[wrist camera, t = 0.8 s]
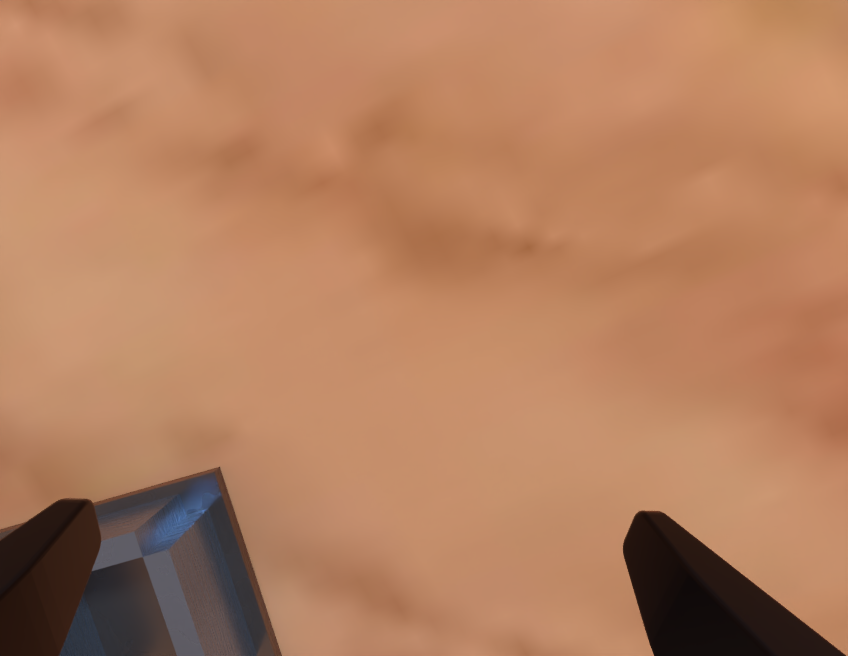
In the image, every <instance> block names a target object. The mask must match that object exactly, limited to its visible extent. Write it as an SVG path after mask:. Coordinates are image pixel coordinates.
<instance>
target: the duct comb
mask: <svg viewBox="0 0 848 656" xmlns="http://www.w3.org/2000/svg"><path fill="white" fill-rule="evenodd" d="M93 504H94V507H95V511H96V515H97V519H98V524H99V528H100V532H101V546H100V550H99V553H98V556H97V558H96V561H95V564H94V566H93V569H92V571H91V574H90V577H89V579H88V582H87V585H86V587H85V590H84V593H83V595H82V598H81V601H80V603H79V606H78V608H77V611H76V614H75V616H74V619H73V622H72V624H71V627H70V630H69V632H68V635H67V637H66V640H65V642H64V645H63V647H62V650H61V652H60V655H59V656H282V655H281V652H280V649H279V646H278V643H277V640H276V637H275V634H274V631H273V628H272V625H271V622H270V619H269V616H268V613H267V610H266V606H265V603H264V600H263V597H262V594H261V591H260V588H259V585H258V582H257V579H256V576H255V573H254V570H253V567H252V564H251V561H250V558H249V555H248V552H247V549H246V546H245V543H244V540H243V537H242V534H241V530H240V527H239V524H238V521H237V518H236V515H235V512H234V509H233V506H232V503H231V500H230V497H229V494H228V491H227V488H226V485H225V482H224V479H223V476H222V473H221V470H220V467H218V468H214V469H211V470H207V471H204V472H200V473H197V474H193V475H190V476H186V477H183V478H179V479H176V480H172V481H169V482H165V483H162V484H158V485H155V486H151V487H148V488H144V489H141V490H137V491H134V492H130V493H127V494H123V495H120V496H116V497H113V498H109V499H106V500H102V501H99V502H95V503H93ZM22 524H24V523H22ZM22 524H18V525H15V526H11V527H8V528H4V529H1V530H0V539H2V538H3V537H5V536H6V535H8V534H9V533H11V532H12V531H14V530H15V529H17V528H18V527H20V526H21V525H22Z"/></svg>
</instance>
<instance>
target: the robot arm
mask: <svg viewBox="0 0 848 656" xmlns="http://www.w3.org/2000/svg"><path fill="white" fill-rule="evenodd" d="M100 546H101V532H100V528H99V524H98V519H97V515H96V511H95V507H94V504H93V502H92V501H91V500H89V499H74V498H65V499H61V500H58V501H56V502H55V503H53V504H52V505H50V506H49V507H47V508H46V509H44V510H43V511H41V512H40V513H39V514H37V515H36V516H34V517H33V518H31V519H30V520H28V521H27V522H25V523H24V524H22V525H21V526H20V527H18V528H17V529H15V530H14V531H12V532H11V533H9V534H8V535H6V536H5V537H3V538H2V539H0V656H59V655H60V652H61V650H62V647H63V645H64V642H65V640H66V637H67V635H68V632H69V630H70V627H71V624H72V622H73V619H74V616H75V614H76V611H77V608H78V606H79V603H80V601H81V598H82V595H83V593H84V590H85V587H86V585H87V582H88V579H89V577H90V574H91V571H92V569H93V566H94V564H95V561H96V558H97V556H98V553H99V550H100ZM623 554H624V559H625V562H626V565H627V569H628V572H629V576H630V579H631V583H632V586H633V589H634V593H635V596H636V600H637V603H638V606H639V610H640V613H641V617H642V620H643V624H644V627H645V630H646V633H647V637H648V640H649V643H650V646H651V648H652V651H653V654H654V656H846V655H845V654H843V653H842V652H841V651H840V650H838V649H837V648H836V647H834V646H833V645H832V644H831V643H829V642H828V641H827V640H825V639H824V638H823V637H822V636H820V635H819V634H818V633H817V632H815V631H814V630H813V629H811V628H810V627H809V626H808V625H806V624H805V623H804V622H803V621H801V620H800V619H799V618H797V617H796V616H795V615H794V614H792V613H791V612H790V611H788V610H787V609H786V608H785V607H783V606H782V605H781V604H780V603H778V602H777V601H776V600H774V599H773V598H772V597H771V596H769V595H768V594H767V593H766V592H764V591H763V590H762V589H760V588H759V587H758V586H757V585H755V584H754V583H753V582H751V581H750V580H749V579H748V578H746V577H745V576H744V575H743V574H741V573H740V572H739V571H737V570H736V569H735V568H734V567H732V566H731V565H730V564H728V563H727V562H726V561H725V560H723V559H722V558H721V557H720V556H718V555H717V554H716V553H714V552H713V551H712V550H711V549H709V548H708V547H707V546H706V545H704V544H703V543H702V542H700V541H699V540H698V539H697V538H695V537H694V536H693V535H691V534H690V533H689V532H688V531H686V530H685V529H684V528H683V527H681V526H680V525H679V524H677V523H676V522H675V521H674V520H672V519H671V518H670V517H669V516H667V515H666V514H664V513H662V512H660V511H639V512H638V513H637V514H636V515H635V516H634V519H633V521H632V523H631V526H630V528H629V530H628V533H627V535H626V537H625V540H624V543H623Z"/></svg>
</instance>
